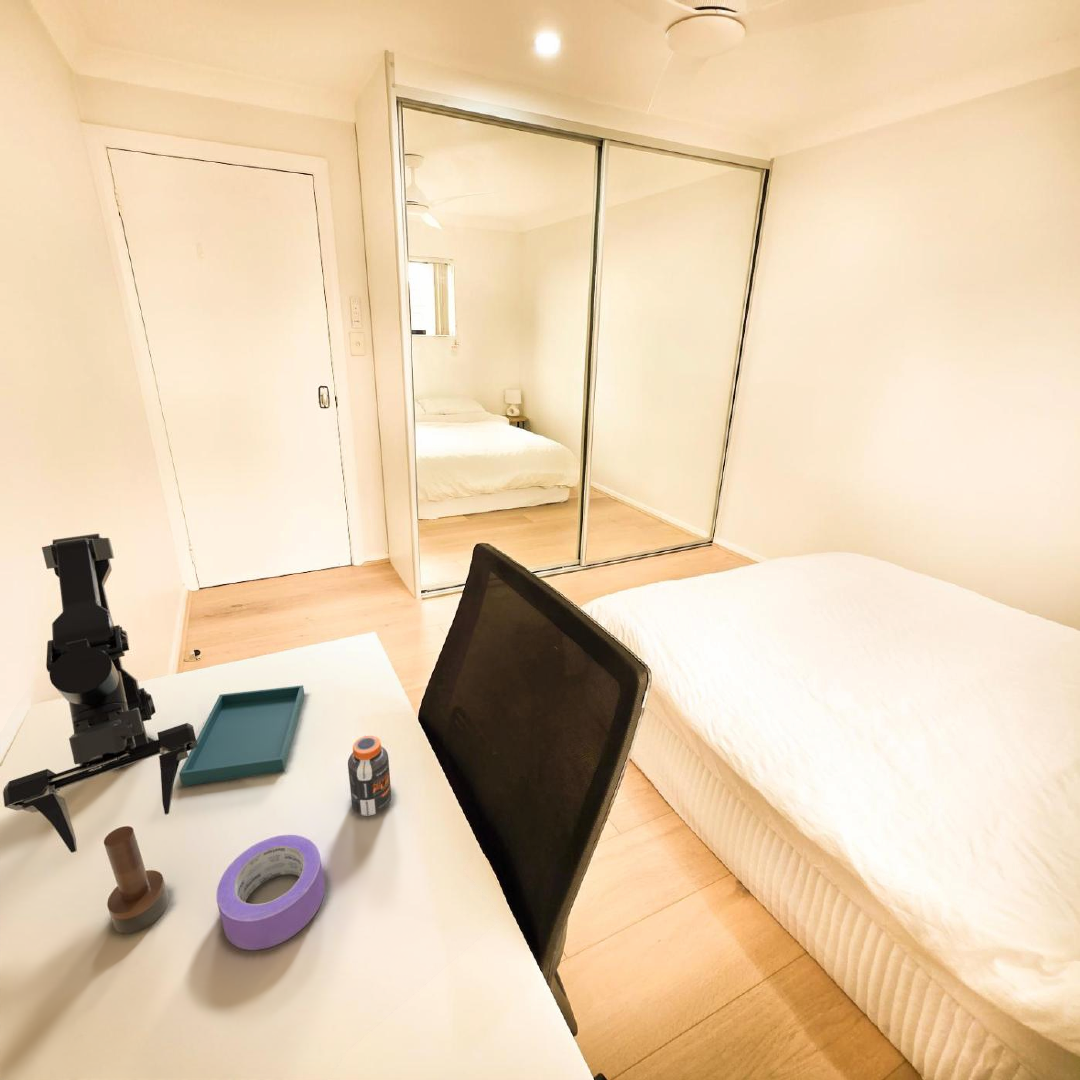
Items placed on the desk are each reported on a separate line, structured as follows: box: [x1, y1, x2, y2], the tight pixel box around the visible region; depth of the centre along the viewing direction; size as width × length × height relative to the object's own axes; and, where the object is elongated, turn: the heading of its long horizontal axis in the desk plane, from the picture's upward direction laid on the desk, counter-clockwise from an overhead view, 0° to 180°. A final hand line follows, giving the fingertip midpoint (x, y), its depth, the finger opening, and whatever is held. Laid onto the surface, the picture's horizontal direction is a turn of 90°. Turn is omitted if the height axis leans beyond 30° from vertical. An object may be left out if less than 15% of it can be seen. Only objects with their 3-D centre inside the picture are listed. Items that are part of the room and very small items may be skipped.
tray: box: [178, 684, 306, 787], centre depth 96 cm, size 21×15×3 cm
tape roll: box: [216, 834, 326, 951], centre depth 67 cm, size 12×12×5 cm
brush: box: [103, 825, 170, 935], centre depth 64 cm, size 6×6×12 cm
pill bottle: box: [347, 735, 392, 817], centre depth 82 cm, size 6×6×11 cm
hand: (122, 832), depth 65 cm, fingers open, 9 cm apart
